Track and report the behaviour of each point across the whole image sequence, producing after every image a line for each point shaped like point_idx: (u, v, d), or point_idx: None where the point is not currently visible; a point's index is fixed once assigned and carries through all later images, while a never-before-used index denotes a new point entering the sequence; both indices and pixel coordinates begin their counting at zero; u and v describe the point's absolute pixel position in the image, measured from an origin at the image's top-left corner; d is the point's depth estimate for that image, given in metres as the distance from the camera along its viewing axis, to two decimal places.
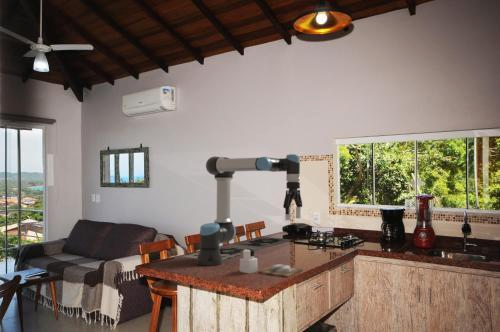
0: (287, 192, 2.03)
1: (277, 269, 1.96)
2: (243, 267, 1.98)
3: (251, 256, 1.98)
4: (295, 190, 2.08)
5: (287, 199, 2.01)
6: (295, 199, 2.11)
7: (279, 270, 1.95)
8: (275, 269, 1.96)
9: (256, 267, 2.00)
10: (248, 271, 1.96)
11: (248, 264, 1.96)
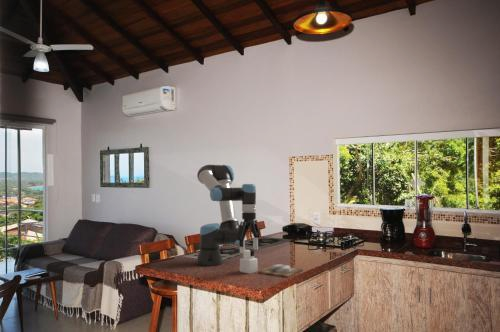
0: (241, 224, 1.96)
1: (277, 269, 1.96)
2: (243, 267, 1.98)
3: (251, 256, 1.98)
4: (251, 221, 2.02)
5: (241, 231, 1.94)
6: (252, 230, 2.04)
7: (279, 270, 1.95)
8: (275, 269, 1.96)
9: (256, 267, 2.00)
10: (248, 271, 1.96)
11: (248, 264, 1.96)
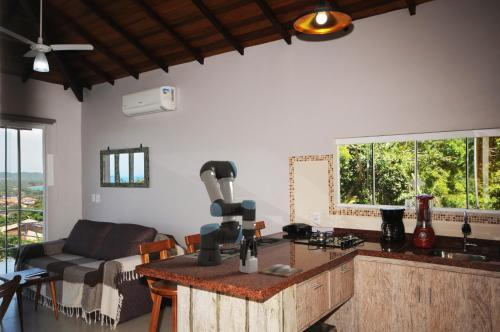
0: (241, 243, 1.96)
1: (277, 269, 1.96)
2: None
3: (251, 256, 1.98)
4: (251, 236, 2.02)
5: (242, 250, 1.95)
6: (250, 247, 2.03)
7: (279, 270, 1.95)
8: (275, 269, 1.96)
9: (256, 267, 2.00)
10: (248, 271, 1.96)
11: (248, 264, 1.96)
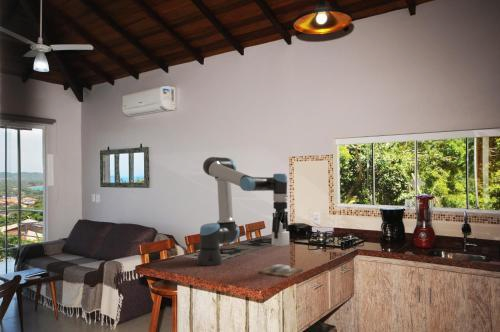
0: (274, 215, 1.96)
1: (277, 269, 1.96)
2: None
3: (283, 229, 1.98)
4: (283, 209, 2.02)
5: (275, 223, 1.95)
6: (281, 221, 2.03)
7: (279, 270, 1.95)
8: (275, 269, 1.96)
9: (287, 240, 2.00)
10: (281, 243, 1.96)
11: (281, 236, 1.96)
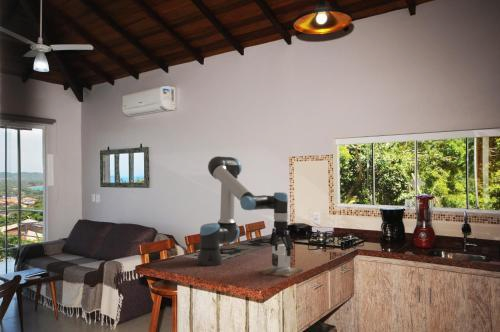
0: (287, 233, 1.95)
1: (277, 269, 1.96)
2: (282, 262, 1.97)
3: None
4: None
5: (290, 240, 1.94)
6: (276, 238, 2.04)
7: (279, 270, 1.95)
8: (275, 269, 1.96)
9: None
10: (288, 264, 1.98)
11: None
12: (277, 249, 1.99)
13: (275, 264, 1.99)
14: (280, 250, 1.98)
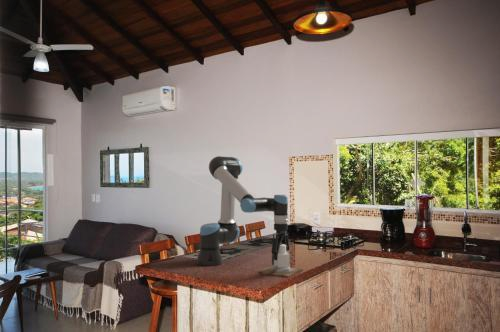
0: (274, 236, 1.95)
1: (277, 269, 1.96)
2: (282, 262, 1.97)
3: (285, 250, 2.01)
4: (283, 231, 2.01)
5: (275, 244, 1.94)
6: (282, 241, 2.03)
7: (279, 270, 1.95)
8: (275, 269, 1.96)
9: None
10: (288, 264, 1.98)
11: (288, 258, 1.98)
12: None
13: None
14: (280, 250, 1.98)
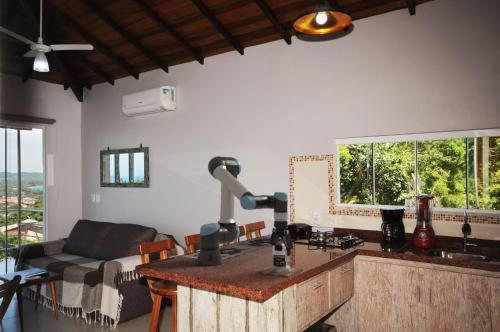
0: (287, 232, 1.95)
1: (277, 269, 1.96)
2: None
3: None
4: None
5: (290, 240, 1.94)
6: (276, 238, 2.04)
7: (279, 270, 1.95)
8: (275, 269, 1.96)
9: None
10: None
11: None
12: (282, 249, 1.98)
13: (280, 265, 1.97)
14: (284, 250, 1.99)
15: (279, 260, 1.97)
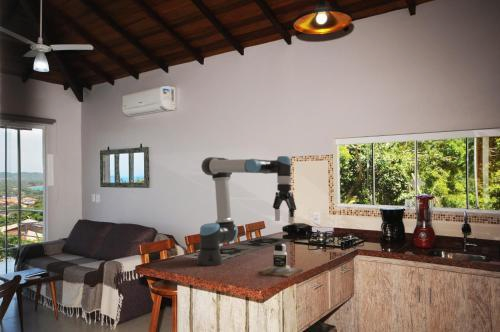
0: (290, 194, 1.99)
1: (277, 269, 1.96)
2: None
3: None
4: None
5: (293, 201, 1.98)
6: (280, 201, 2.08)
7: (279, 270, 1.95)
8: (275, 269, 1.96)
9: None
10: None
11: None
12: (282, 249, 1.98)
13: (280, 265, 1.97)
14: (284, 250, 1.99)
15: (279, 260, 1.97)
